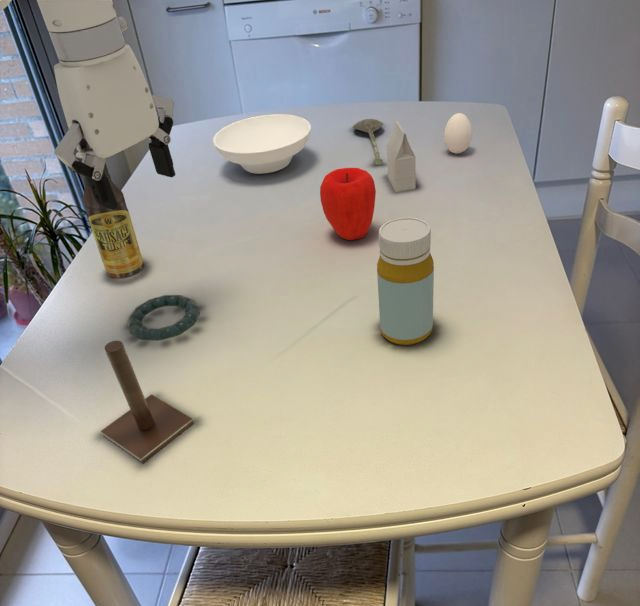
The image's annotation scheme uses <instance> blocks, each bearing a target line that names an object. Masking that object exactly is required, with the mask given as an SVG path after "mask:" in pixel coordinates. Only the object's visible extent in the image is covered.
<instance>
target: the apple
mask: <svg viewBox="0 0 640 606" xmlns="http://www.w3.org/2000/svg"><path fill="white" fill-rule="evenodd" d="M375 184H376V183H375V180H374V177H373V176H372V175H371V173H369V171H367V170H365V169H363V168H360V167H341V168H337V169H333V170H331V171H330V172H328V173H327V174H325V176H324V178H323V179H322V181H321V184H320V186H319V198H320V203H321V206H322V207H321V208H322V210H323V213H324V216H325V218H326V220H327V222H328V223H329V225H330V226H331V227H332V229H333V230H334V231H335V233H336V234H337V235H338V236H339V237H340V238H342V239H344V240H347V241H354V240H359V239H363V238H365V237H366V236H367V235H368V233H369V230H370V227H371V225H372V222H373V217H374V213H375V205H376V195H377V192H376V191H377V189H376V185H375Z"/></svg>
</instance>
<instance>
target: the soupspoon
mask: <svg viewBox="0 0 640 606" xmlns="http://www.w3.org/2000/svg"><path fill="white" fill-rule="evenodd" d="M382 126H384V123H383V122H382V121H381V120H379V119H375V118H366V119H361V120H359V121H358V122H356V123H355V124H353V126H352V129H356V130H358V131H362V132H365V133H367V134H368V135H369V138H370V141H371V143H372V147H373V150H374V160H373V165H374V166H381V165H382V164H383V162H384V160H383V158H382V157H381V156H380V152H379V148H378V143H377V141H376V138H375V134H374V133H375V132H376V131H378V130H379V129H380V128H381V127H382Z"/></svg>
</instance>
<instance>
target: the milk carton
mask: <svg viewBox="0 0 640 606" xmlns="http://www.w3.org/2000/svg"><path fill="white" fill-rule="evenodd" d="M386 161H387V164H386V165H387V178H388V181H389V182H390V184H391V186H392V188H393V190H394V192H395V193H399V192H404V191H410V190H416V189H417V187H416V186H417V184H416V180H417V179H416V177H417V176H416V173H417V172H416V171H417V170H416V155H415V153H414V151H413V149H412V146H411V145H410V142H409V140H408V137H407V133H406V132H405V131H404V129H403V127H402V125H401V124H400V122H399V121H398V120H397V121H394V127H393V130H392V132H391V135H390V137H389V140H388V141H387V144H386Z"/></svg>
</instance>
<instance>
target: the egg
mask: <svg viewBox="0 0 640 606" xmlns="http://www.w3.org/2000/svg"><path fill="white" fill-rule="evenodd" d="M472 138H473V127H472V124H471V121H470V120H469V117H468V116H466V115H465V114H464V113H463V112H462V113H461V112H458V113H455V114H453V115H452V116H451V117H450V118H449V120H448V121H447V123H446V125H445V128H444V133H443V140H444V144H445V147H446V148H447V150H449V152H450V153H452V154H455V155H459V154H462V153H464V152H465V151H466V150H467V149H468V148H469V146H470V145H471V142H472Z"/></svg>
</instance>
